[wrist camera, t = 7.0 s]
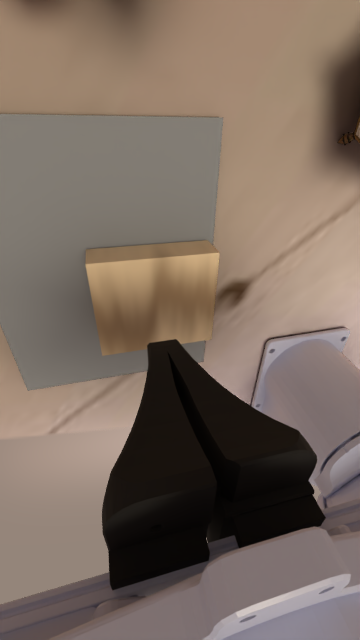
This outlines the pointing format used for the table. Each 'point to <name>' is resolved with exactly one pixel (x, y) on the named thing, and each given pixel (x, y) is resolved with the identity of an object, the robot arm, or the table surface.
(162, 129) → the rubber mat
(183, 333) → the oak tile
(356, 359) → the table surface
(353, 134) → the game die
